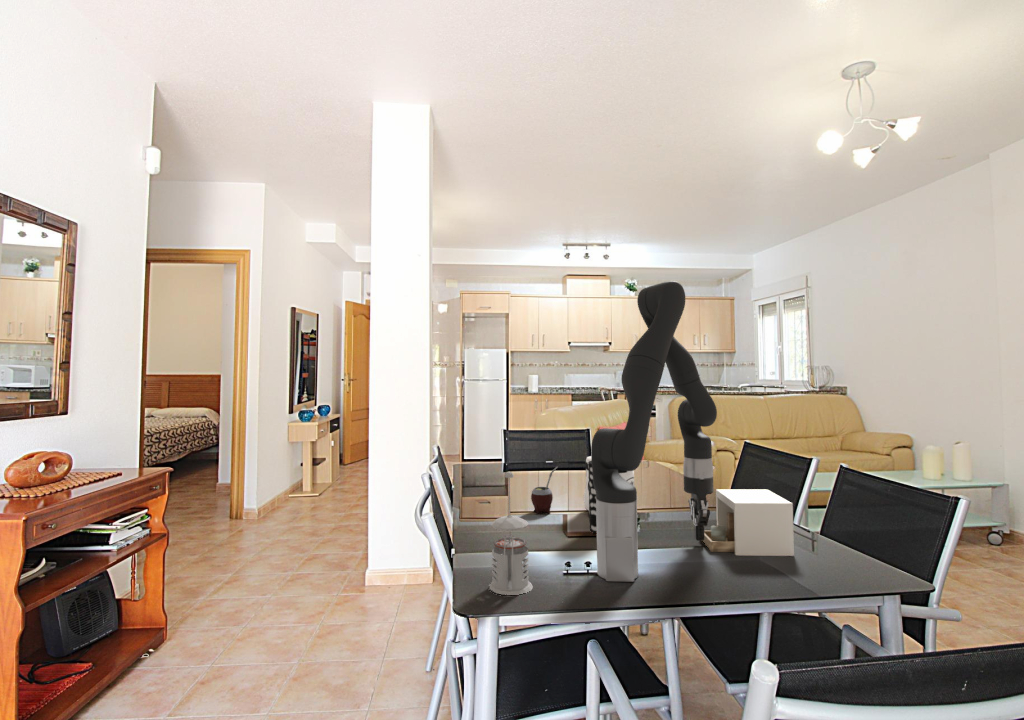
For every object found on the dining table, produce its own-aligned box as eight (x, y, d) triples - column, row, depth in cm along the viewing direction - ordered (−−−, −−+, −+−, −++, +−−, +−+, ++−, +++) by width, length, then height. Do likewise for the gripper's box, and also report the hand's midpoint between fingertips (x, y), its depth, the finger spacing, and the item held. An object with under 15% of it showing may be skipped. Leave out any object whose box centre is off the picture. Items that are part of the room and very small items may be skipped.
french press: (533, 578, 123) (531, 467, 124) (533, 599, 112) (531, 477, 112) (489, 578, 124) (488, 467, 124) (485, 599, 112) (483, 477, 113)
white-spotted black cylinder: (617, 527, 163) (615, 459, 163) (619, 535, 154) (618, 464, 155) (588, 526, 164) (587, 459, 164) (590, 535, 155) (588, 464, 156)
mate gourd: (527, 513, 180) (526, 467, 180) (540, 508, 186) (539, 464, 187) (546, 516, 176) (545, 469, 176) (559, 511, 182) (558, 466, 182)
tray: (711, 551, 140) (710, 518, 140) (700, 539, 150) (699, 508, 150) (775, 552, 139) (774, 518, 139) (760, 540, 149) (759, 508, 149)
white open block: (794, 555, 136) (792, 503, 136) (736, 555, 137) (734, 503, 137) (768, 536, 152) (767, 489, 152) (717, 536, 153) (715, 489, 153)
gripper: (678, 469, 152) (679, 532, 152) (689, 479, 139) (691, 547, 139) (705, 469, 152) (707, 532, 151) (720, 479, 139) (721, 548, 138)
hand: (699, 539), depth 145 cm, fingers closed
